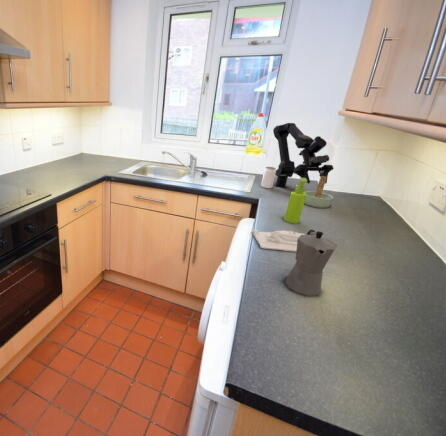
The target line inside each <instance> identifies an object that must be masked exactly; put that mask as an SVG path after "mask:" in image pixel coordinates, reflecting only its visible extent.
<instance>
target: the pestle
mask: <svg viewBox="0 0 446 436" xmlns="http://www.w3.org/2000/svg"><path fill="white" fill-rule="evenodd" d="M326 178H327V179H328V177H325V176H321V177H320V176H319V181H318V184H317V188H316V190H315V191H316V194H315V196H312V197H316V198H321V199H323V198H322V197H321V194H322V193H323V191H324V187H325V185H326V184H325V181H326Z"/></svg>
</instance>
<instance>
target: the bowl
mask: <svg viewBox="0 0 446 436" xmlns="http://www.w3.org/2000/svg"><path fill="white" fill-rule="evenodd" d="M316 191H317V190H306V191H305V190H304V193H305V194H307V195H306V199H305V202H304V205H306V206H308V207H313V208H318V209H319V208H320V209H327V208H329V207H331V206H332V203H333V200H334V196H333V195H331V194H328V193H325V192H322V194H321V197H322V198H323V199H321V198H316V197H312V196H315V194H316Z"/></svg>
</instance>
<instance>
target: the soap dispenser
mask: <svg viewBox="0 0 446 436" xmlns="http://www.w3.org/2000/svg"><path fill="white" fill-rule="evenodd" d="M305 183H307V179H306V178H302V177H300V176H299V183H298V184H296V185H295V189H294V191H291V192H290V196H289V200H288V203H287V206H286V211H285V214H284V218H283V221H285V222H287V223H290V224H299V222H300V219H301V215H302V212H303V209H304V206H305V204H304V202H305V199H306V195H307V194H305V193H304V192H305V189H306V185H305Z"/></svg>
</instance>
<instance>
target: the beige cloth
mask: <svg viewBox="0 0 446 436" xmlns="http://www.w3.org/2000/svg"><path fill="white" fill-rule="evenodd" d="M251 233H252V235H253V237H254V239H255V240H256V241H257V244H258V245H259V247H260V249H264V250H272V251H283V252H294V253H296V250H297V241H298V238H299V237H300V236H301V235H306V234H305V233H302V232H301V233H299V232H296V231H293V230H274V231H259V230H258V229H252V232H251Z"/></svg>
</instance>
